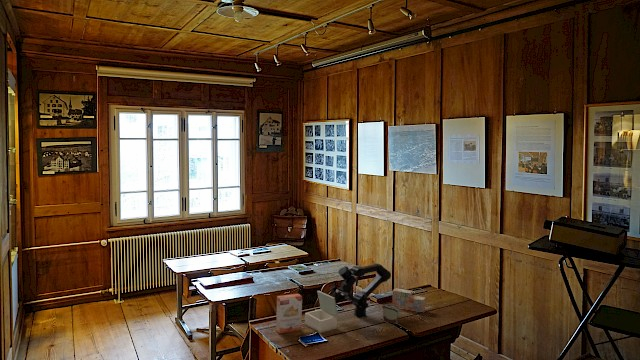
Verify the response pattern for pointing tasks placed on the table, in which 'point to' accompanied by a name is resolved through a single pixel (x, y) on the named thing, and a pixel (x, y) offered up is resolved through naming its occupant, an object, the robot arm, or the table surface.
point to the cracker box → (289, 313)
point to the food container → (390, 313)
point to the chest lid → (327, 303)
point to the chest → (320, 320)
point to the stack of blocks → (408, 300)
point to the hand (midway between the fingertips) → (333, 304)
